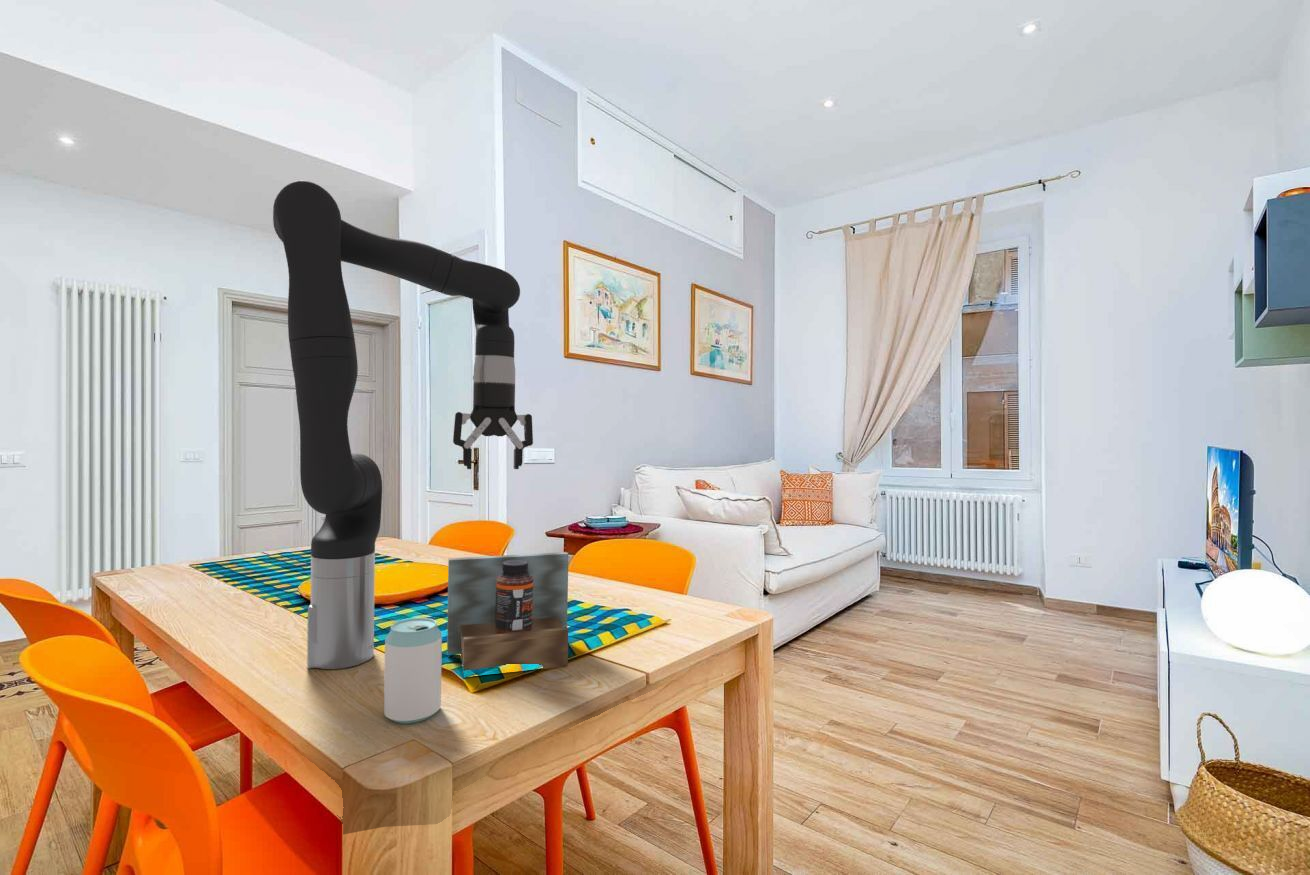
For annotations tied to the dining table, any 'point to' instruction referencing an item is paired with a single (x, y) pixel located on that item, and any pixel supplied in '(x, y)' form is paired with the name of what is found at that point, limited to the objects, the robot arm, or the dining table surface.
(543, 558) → the wall board
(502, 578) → the supplement bottle
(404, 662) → the can
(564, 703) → the dining table surface
